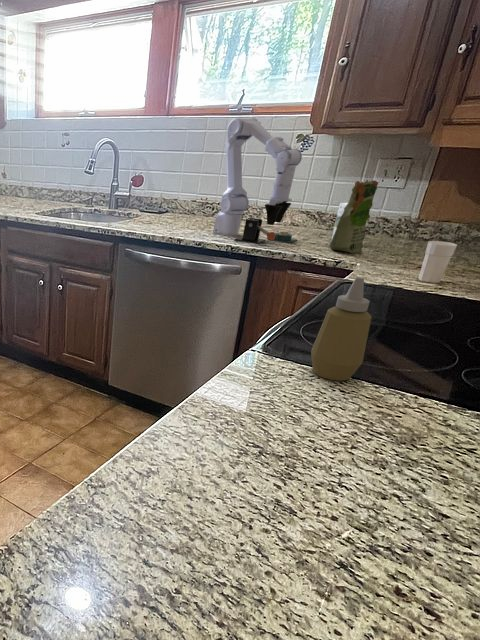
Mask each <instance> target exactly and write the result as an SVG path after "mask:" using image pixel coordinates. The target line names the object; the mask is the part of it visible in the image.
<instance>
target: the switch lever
mask: <svg viewBox="0 0 480 640" xmlns="http://www.w3.org/2000/svg"><path fill="white" fill-rule="evenodd" d="M252 220H254V219H252ZM258 224H259V223H258ZM257 229H258V230H260V233H261V232H262V233H263V234H265V235H266V240H267V239H269V240H268V241H271V240H273V239H274V238H275V237H276V234H275V233H276V232H274V231H268V230H267V229H265V228H263V227H262V226H261V227H260V226H259V225H258V227H257Z"/></svg>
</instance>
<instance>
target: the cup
mask: <svg viewBox="0 0 480 640" xmlns="http://www.w3.org/2000/svg"><path fill="white" fill-rule="evenodd" d="M457 246H458V244H457V243H453V242H449V241H442V240H429V241H427V245H426V248H425V251H424V252H425V254H424V257H423V260H422V264H421V268H420V271H419V275H418V278H417V280H419V281H421V282H425V283H432V284H433V283H434V284H438V283H441V281H442V278H443V277H444V274H445V272H446V270H447V268H448V266H449V263H450V262H451V258H452V257H453V255H454V253H455V251H456V249H457Z"/></svg>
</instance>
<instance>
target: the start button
mask: <svg viewBox="0 0 480 640" xmlns="http://www.w3.org/2000/svg"><path fill="white" fill-rule="evenodd" d="M278 233H279V235H288V234H289V231H288V230H286V229H280V230H279V232H278Z"/></svg>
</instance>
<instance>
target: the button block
mask: <svg viewBox="0 0 480 640" xmlns="http://www.w3.org/2000/svg"><path fill="white" fill-rule="evenodd" d="M274 233H275V234H276V237H275V238H274V239H273V240H269V239H267V238H266V241H271V242H279V243H286V244H294V243H296V242H298V240H297V239H294V238H292V237H293V235H292V234H290V233H288V235H279V232H274Z"/></svg>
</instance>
